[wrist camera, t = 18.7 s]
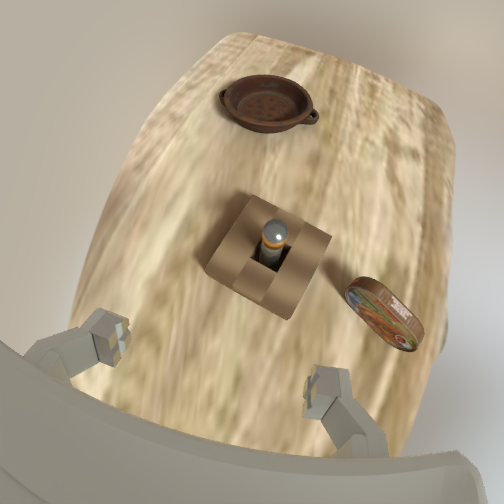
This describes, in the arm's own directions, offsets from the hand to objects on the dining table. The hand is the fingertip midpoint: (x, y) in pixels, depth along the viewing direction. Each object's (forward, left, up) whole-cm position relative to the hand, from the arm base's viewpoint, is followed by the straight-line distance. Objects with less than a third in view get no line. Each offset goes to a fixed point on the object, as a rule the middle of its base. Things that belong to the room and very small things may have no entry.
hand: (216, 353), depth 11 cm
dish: (+43, +19, -32) cm, 57 cm away
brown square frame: (+14, +3, -31) cm, 35 cm away
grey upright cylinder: (+14, +3, -31) cm, 35 cm away
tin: (+14, -17, -32) cm, 39 cm away
